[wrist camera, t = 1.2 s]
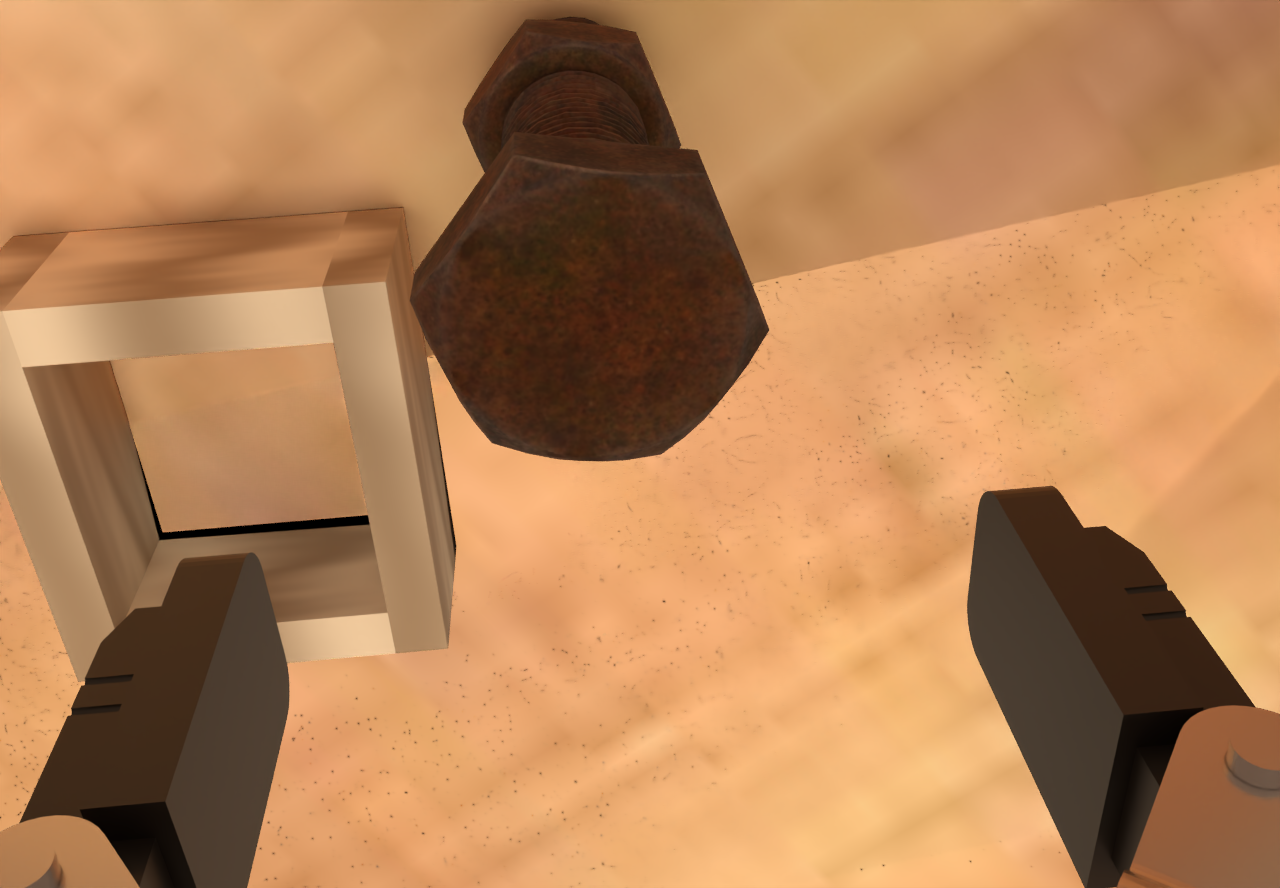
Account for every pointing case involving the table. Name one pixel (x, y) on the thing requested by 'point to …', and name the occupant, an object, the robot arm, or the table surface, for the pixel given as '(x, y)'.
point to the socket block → (215, 322)
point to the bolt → (585, 259)
